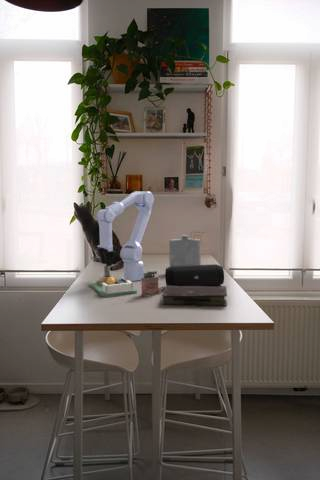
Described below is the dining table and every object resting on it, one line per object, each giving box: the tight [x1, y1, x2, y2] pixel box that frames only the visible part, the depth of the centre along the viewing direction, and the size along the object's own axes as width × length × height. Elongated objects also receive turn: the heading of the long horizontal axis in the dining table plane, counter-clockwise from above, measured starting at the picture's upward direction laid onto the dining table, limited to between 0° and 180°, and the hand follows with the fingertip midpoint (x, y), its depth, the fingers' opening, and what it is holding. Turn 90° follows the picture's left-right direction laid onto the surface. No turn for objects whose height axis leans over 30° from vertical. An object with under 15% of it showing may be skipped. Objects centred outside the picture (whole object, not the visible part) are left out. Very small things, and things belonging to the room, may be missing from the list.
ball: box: [106, 277, 116, 285], centre depth 211 cm, size 4×4×4 cm
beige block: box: [99, 265, 116, 284], centre depth 216 cm, size 6×5×8 cm
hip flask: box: [168, 234, 202, 267], centre depth 240 cm, size 16×4×20 cm, turn 85°
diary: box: [161, 285, 228, 308], centre depth 188 cm, size 19×25×5 cm
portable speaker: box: [164, 264, 225, 287], centre depth 211 cm, size 26×10×10 cm, turn 96°
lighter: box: [140, 270, 160, 297], centre depth 198 cm, size 8×3×10 cm, turn 117°
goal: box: [102, 280, 134, 294], centre depth 202 cm, size 12×6×4 cm, turn 112°
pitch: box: [89, 278, 138, 298], centre depth 209 cm, size 15×23×2 cm, turn 22°
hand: (106, 264), depth 216 cm, fingers open, 7 cm apart
